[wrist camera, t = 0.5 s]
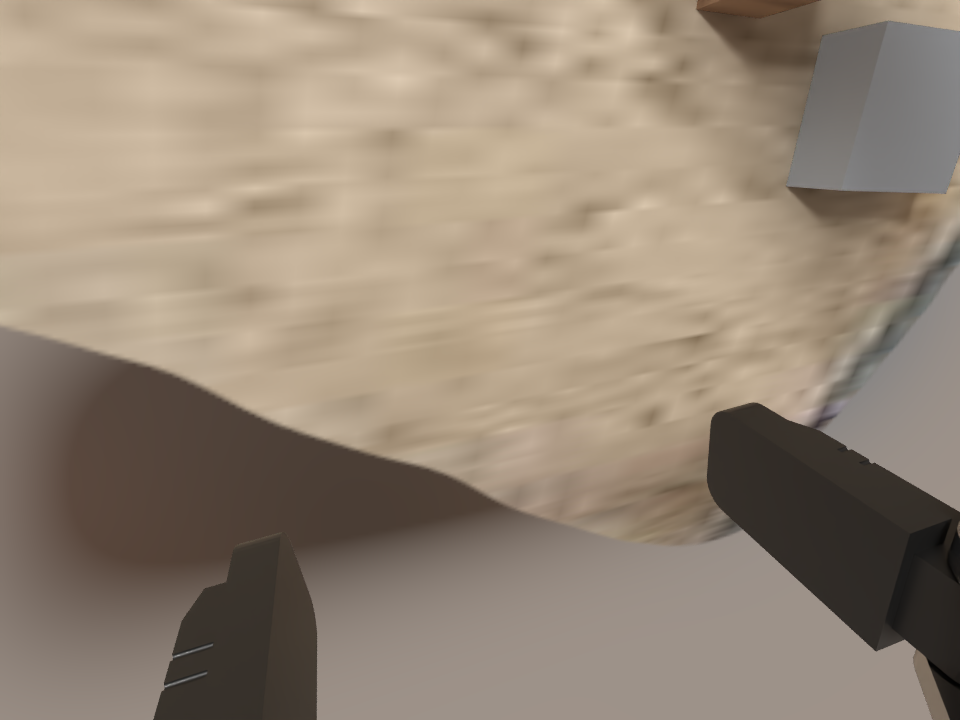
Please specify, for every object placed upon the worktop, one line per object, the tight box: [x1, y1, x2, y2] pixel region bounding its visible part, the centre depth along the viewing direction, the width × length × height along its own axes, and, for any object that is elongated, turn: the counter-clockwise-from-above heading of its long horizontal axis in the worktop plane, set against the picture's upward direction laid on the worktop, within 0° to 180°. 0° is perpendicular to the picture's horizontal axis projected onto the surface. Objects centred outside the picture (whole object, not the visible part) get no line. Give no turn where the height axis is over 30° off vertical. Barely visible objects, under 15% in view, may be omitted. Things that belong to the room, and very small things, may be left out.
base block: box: [786, 21, 960, 194], centre depth 38 cm, size 10×10×5 cm
